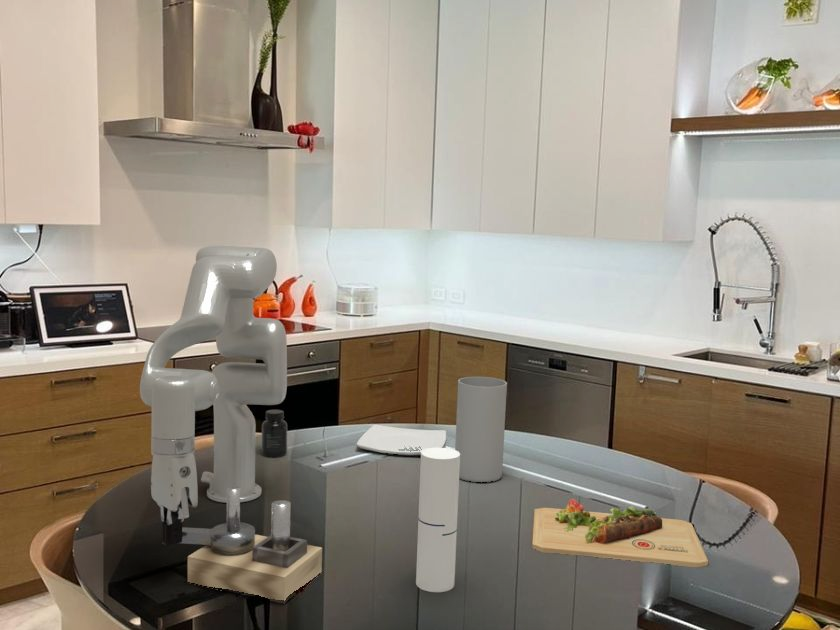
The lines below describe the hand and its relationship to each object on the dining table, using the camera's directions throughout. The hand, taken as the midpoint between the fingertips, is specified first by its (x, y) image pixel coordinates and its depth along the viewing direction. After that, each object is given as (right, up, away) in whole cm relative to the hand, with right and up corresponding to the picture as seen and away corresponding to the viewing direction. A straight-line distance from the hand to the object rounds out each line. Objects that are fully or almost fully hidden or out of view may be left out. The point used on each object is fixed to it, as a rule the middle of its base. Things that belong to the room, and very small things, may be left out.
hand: (172, 542), depth 155 cm
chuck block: (+15, -7, +2) cm, 17 cm away
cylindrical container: (+48, -8, +2) cm, 49 cm away
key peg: (+20, -2, -1) cm, 20 cm away
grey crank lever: (+6, -1, +3) cm, 7 cm away
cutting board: (+88, -7, +28) cm, 92 cm away
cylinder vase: (+61, 0, +65) cm, 89 cm away
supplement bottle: (+5, +3, +77) cm, 78 cm away
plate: (+40, +3, +91) cm, 100 cm away
